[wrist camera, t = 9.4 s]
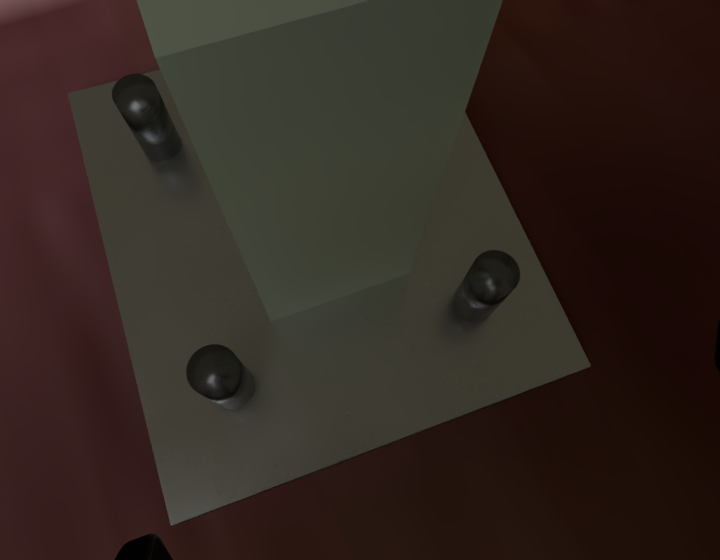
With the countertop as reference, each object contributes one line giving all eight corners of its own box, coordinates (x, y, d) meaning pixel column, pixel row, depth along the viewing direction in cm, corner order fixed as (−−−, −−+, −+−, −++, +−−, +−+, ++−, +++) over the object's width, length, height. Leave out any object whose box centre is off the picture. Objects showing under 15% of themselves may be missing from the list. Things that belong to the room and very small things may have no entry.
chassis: (577, 372, 20) (636, 345, 16) (181, 522, 18) (136, 535, 14) (408, 25, 25) (421, -62, 21) (81, 112, 23) (26, 35, 19)
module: (409, 273, 20) (516, -40, 8) (270, 321, 19) (155, 58, 7) (349, 131, 21) (360, -297, 10) (219, 171, 21) (59, -240, 9)
